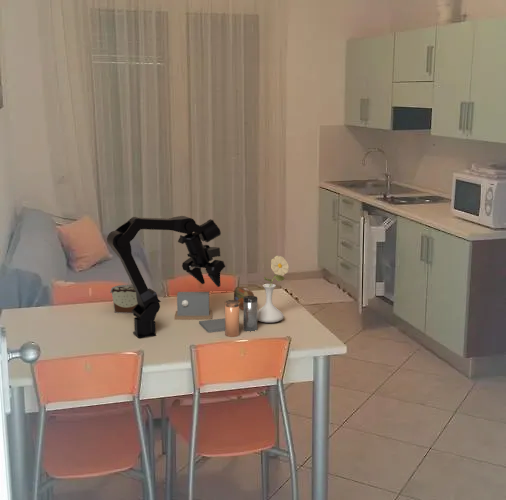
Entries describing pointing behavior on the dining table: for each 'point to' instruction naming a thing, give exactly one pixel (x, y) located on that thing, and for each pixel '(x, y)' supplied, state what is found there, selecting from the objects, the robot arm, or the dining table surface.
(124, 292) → the food container
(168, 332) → the dining table surface
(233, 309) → the cylinder
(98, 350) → the dining table surface
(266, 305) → the flower in vase
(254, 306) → the cylinder
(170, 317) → the dining table surface
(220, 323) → the mat
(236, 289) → the tin
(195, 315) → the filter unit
